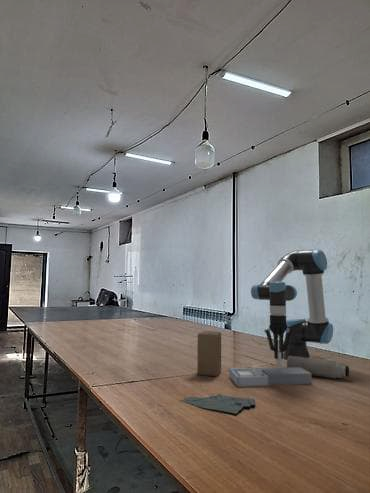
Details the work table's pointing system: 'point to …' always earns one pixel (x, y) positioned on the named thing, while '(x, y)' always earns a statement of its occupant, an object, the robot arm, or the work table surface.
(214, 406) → the decorative slab
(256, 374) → the tile
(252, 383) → the tray
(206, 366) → the wooden block
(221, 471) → the work table surface
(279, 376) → the board
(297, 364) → the thermos bottle
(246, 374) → the tile
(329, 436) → the work table surface
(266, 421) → the work table surface
